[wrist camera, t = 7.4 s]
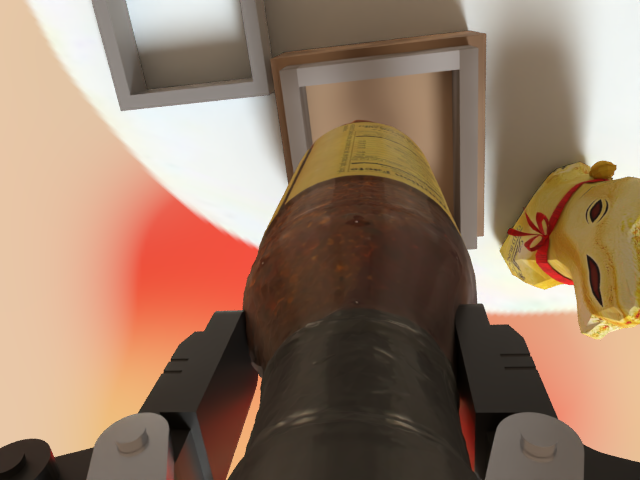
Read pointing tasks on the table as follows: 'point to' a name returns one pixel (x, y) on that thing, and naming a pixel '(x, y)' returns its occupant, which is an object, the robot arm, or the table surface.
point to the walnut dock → (397, 106)
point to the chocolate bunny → (583, 243)
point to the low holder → (136, 96)
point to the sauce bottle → (358, 318)
